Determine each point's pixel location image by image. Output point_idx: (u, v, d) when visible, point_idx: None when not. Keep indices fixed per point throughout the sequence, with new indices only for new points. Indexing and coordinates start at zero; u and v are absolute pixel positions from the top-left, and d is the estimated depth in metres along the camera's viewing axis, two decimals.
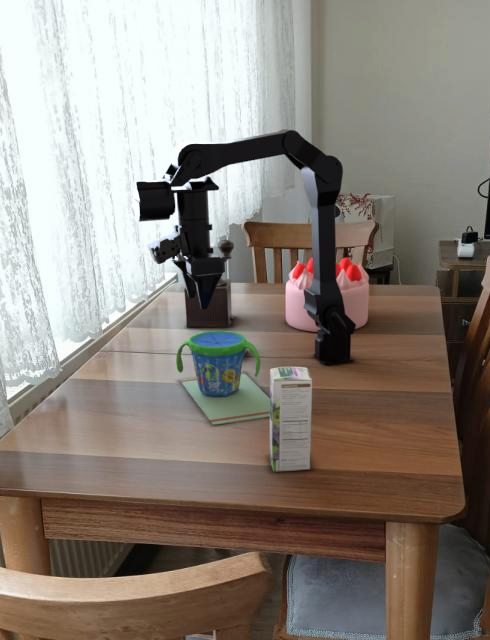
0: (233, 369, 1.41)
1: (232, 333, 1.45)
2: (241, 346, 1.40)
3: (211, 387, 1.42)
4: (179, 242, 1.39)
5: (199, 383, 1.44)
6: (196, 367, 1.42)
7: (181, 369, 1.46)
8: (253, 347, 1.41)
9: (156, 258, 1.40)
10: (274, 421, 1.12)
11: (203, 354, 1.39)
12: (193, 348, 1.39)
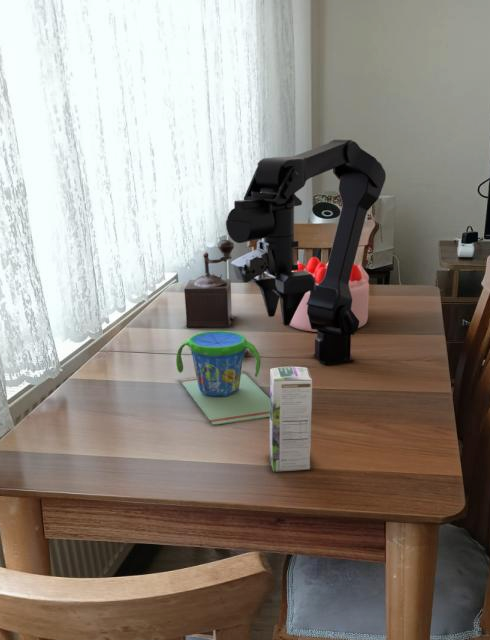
0: (233, 369, 1.41)
1: (232, 333, 1.45)
2: (241, 347, 1.40)
3: (211, 387, 1.42)
4: (266, 260, 1.37)
5: (199, 383, 1.44)
6: (196, 367, 1.42)
7: (181, 369, 1.46)
8: (253, 347, 1.41)
9: (243, 276, 1.37)
10: (274, 421, 1.12)
11: (203, 354, 1.39)
12: (193, 348, 1.39)
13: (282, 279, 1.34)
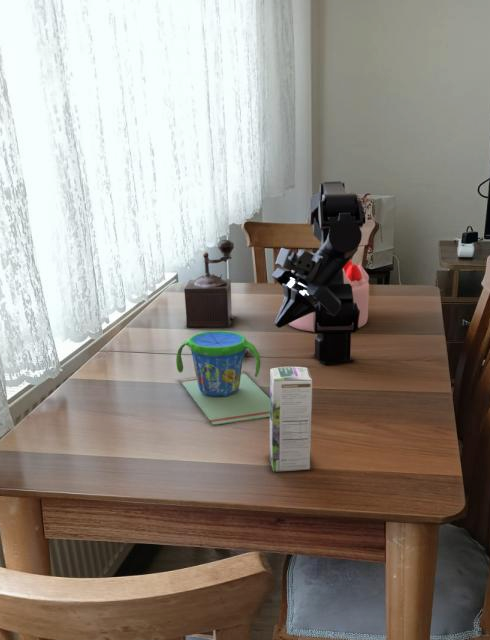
0: (233, 369, 1.41)
1: (232, 333, 1.45)
2: (241, 347, 1.40)
3: (211, 387, 1.42)
4: (311, 266, 1.41)
5: (199, 383, 1.44)
6: (196, 367, 1.42)
7: (181, 369, 1.46)
8: (253, 347, 1.41)
9: (286, 261, 1.39)
10: (274, 421, 1.12)
11: (203, 354, 1.39)
12: (193, 348, 1.39)
13: (318, 285, 1.37)
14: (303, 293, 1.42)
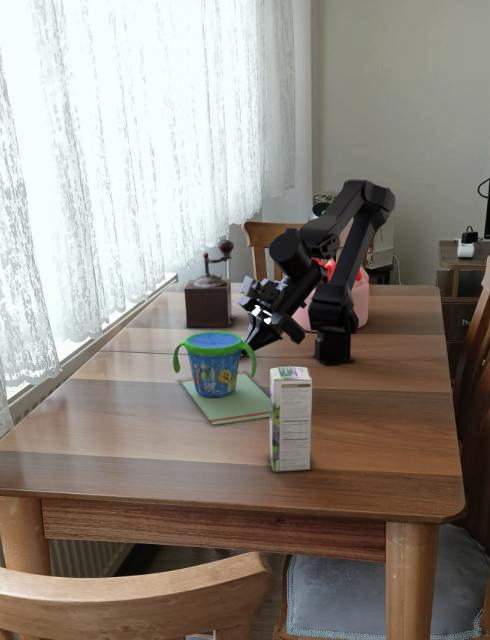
0: (228, 370, 1.41)
1: (229, 334, 1.45)
2: (237, 347, 1.39)
3: (207, 388, 1.42)
4: None
5: (195, 384, 1.44)
6: (192, 367, 1.42)
7: (178, 369, 1.46)
8: (249, 348, 1.41)
9: (250, 290, 1.38)
10: (274, 421, 1.12)
11: (199, 355, 1.38)
12: (189, 349, 1.39)
13: (282, 314, 1.36)
14: (268, 321, 1.41)
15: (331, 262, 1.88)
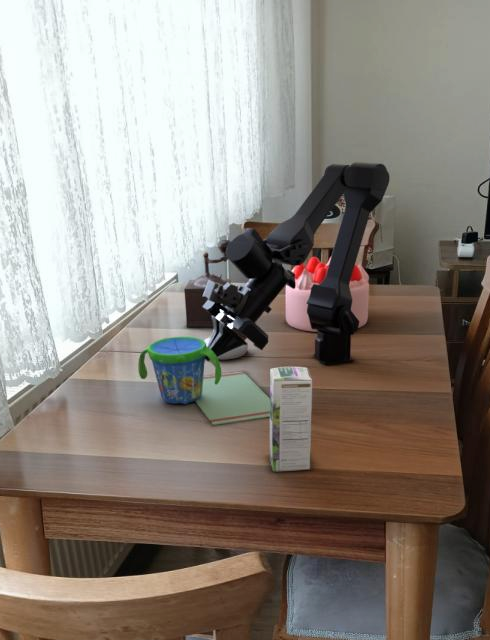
0: (191, 376, 1.38)
1: (195, 339, 1.42)
2: (198, 354, 1.36)
3: (170, 395, 1.40)
4: (239, 299, 1.38)
5: (160, 390, 1.42)
6: (155, 374, 1.40)
7: (144, 375, 1.44)
8: (212, 354, 1.38)
9: (212, 294, 1.36)
10: (274, 421, 1.12)
11: (159, 362, 1.36)
12: (150, 355, 1.37)
13: (244, 319, 1.34)
14: (231, 326, 1.39)
15: None
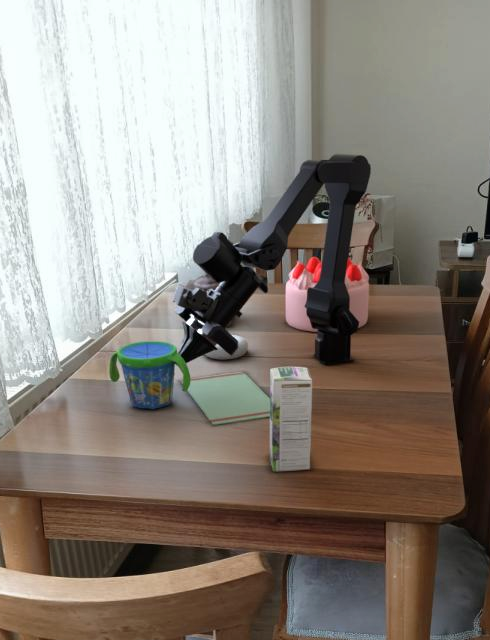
0: (158, 382, 1.36)
1: (167, 344, 1.40)
2: (166, 359, 1.35)
3: (137, 399, 1.38)
4: (209, 304, 1.36)
5: (129, 394, 1.40)
6: (124, 377, 1.39)
7: (115, 378, 1.43)
8: (181, 360, 1.36)
9: (181, 299, 1.34)
10: (274, 421, 1.12)
11: (126, 365, 1.35)
12: (118, 358, 1.36)
13: (213, 324, 1.32)
14: (201, 331, 1.37)
15: None
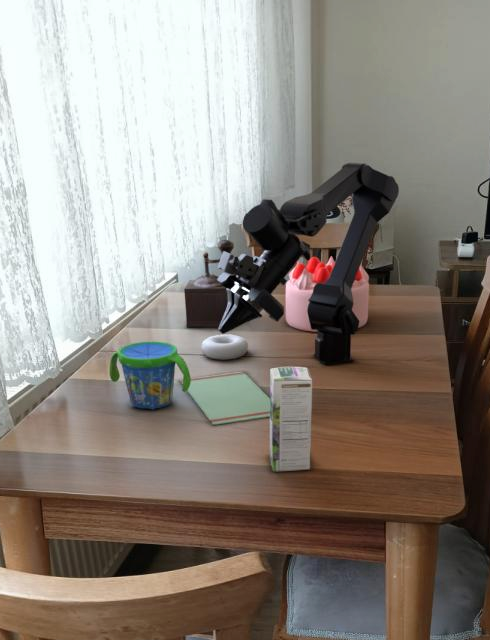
0: (158, 382, 1.36)
1: (168, 345, 1.40)
2: (167, 360, 1.35)
3: (137, 400, 1.38)
4: (254, 270, 1.37)
5: (129, 394, 1.40)
6: None
7: (115, 378, 1.43)
8: (181, 361, 1.36)
9: (227, 266, 1.35)
10: (274, 421, 1.12)
11: (126, 365, 1.35)
12: (119, 358, 1.36)
13: (260, 290, 1.33)
14: (246, 298, 1.38)
15: (331, 262, 1.88)
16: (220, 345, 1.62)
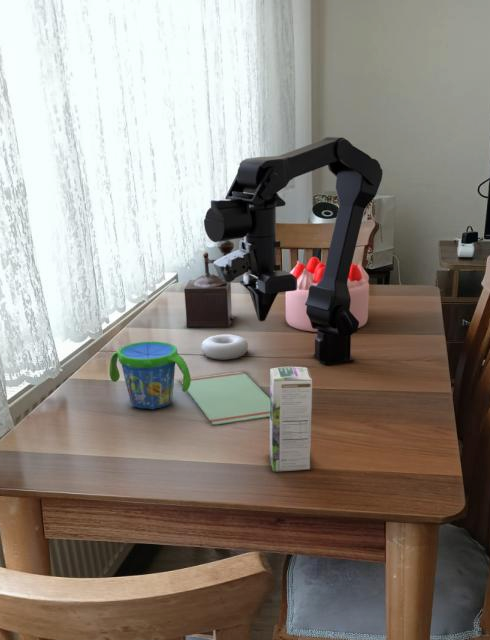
0: (158, 382, 1.36)
1: (168, 345, 1.40)
2: (167, 360, 1.35)
3: (137, 400, 1.38)
4: (248, 260, 1.37)
5: (129, 394, 1.40)
6: None
7: (115, 378, 1.43)
8: (181, 361, 1.36)
9: (225, 276, 1.37)
10: (274, 421, 1.12)
11: (126, 365, 1.35)
12: (119, 358, 1.36)
13: (263, 279, 1.34)
14: None
15: None
16: (220, 345, 1.62)
